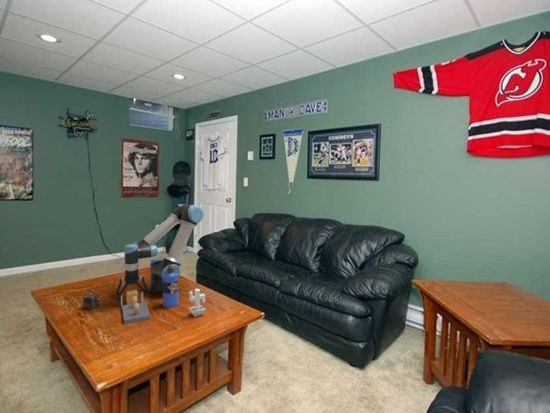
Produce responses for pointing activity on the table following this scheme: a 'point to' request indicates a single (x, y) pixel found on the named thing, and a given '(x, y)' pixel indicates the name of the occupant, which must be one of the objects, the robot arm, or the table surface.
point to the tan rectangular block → (131, 294)
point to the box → (91, 301)
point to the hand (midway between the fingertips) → (132, 303)
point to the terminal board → (135, 317)
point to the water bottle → (170, 288)
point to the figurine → (197, 303)
